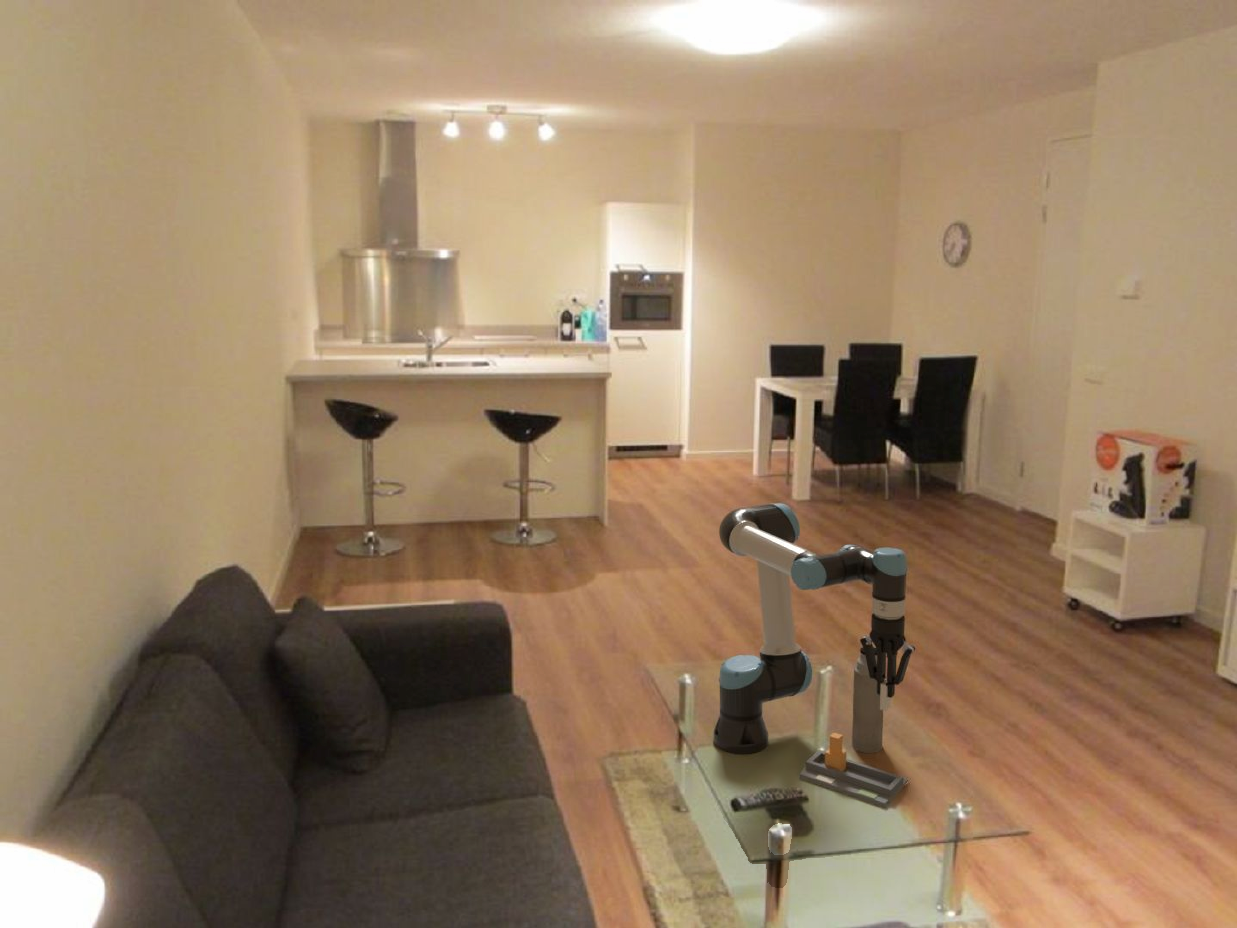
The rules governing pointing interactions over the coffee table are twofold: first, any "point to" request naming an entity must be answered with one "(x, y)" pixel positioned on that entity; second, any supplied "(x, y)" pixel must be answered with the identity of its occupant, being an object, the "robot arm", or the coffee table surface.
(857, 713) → the thermos bottle
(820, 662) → the coffee table surface
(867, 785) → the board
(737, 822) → the coffee table surface
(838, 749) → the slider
